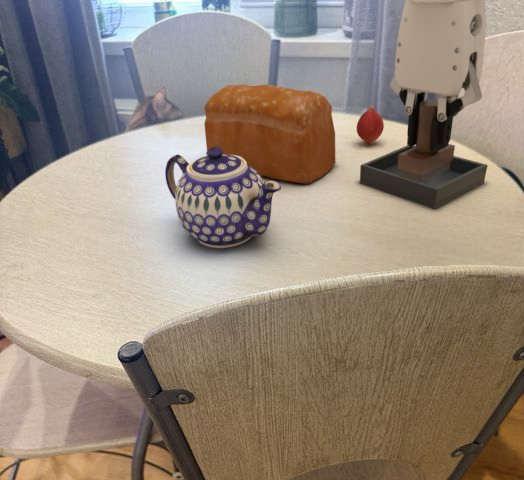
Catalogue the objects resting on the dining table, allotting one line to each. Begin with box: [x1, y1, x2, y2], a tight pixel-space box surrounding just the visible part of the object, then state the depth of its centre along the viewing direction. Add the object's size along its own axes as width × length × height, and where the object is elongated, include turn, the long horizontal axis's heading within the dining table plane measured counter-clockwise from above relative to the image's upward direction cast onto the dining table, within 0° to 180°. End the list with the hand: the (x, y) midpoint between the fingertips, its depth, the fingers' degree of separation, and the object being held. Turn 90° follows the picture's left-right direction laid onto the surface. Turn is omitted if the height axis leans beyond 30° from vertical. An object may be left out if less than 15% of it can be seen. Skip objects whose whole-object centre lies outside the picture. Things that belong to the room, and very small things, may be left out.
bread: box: [204, 83, 336, 184], centre depth 109 cm, size 14×26×16 cm, turn 55°
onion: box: [356, 105, 385, 145], centre depth 117 cm, size 6×6×8 cm
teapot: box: [164, 147, 282, 249], centre depth 86 cm, size 25×15×15 cm, turn 48°
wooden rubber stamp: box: [398, 99, 456, 183], centre depth 71 cm, size 7×4×9 cm, turn 130°
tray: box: [359, 144, 488, 210], centre depth 100 cm, size 18×15×4 cm
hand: (427, 144), depth 72 cm, fingers closed on wooden rubber stamp, 3 cm apart
